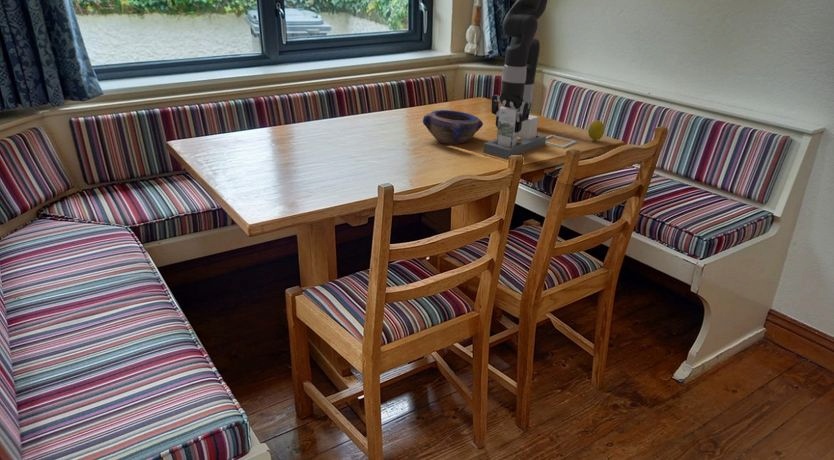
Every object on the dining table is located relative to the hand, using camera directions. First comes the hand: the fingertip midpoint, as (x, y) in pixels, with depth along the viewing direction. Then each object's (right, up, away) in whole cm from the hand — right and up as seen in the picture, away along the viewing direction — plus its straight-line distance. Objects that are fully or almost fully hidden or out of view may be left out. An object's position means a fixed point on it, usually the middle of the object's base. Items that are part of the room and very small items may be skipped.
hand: (507, 129), depth 204 cm
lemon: (+35, -1, +23) cm, 42 cm away
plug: (+7, -3, +12) cm, 14 cm away
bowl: (-18, -2, +14) cm, 23 cm away
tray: (+20, -3, +17) cm, 26 cm away
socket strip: (+3, -6, +8) cm, 10 cm away
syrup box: (0, -6, +3) cm, 7 cm away
